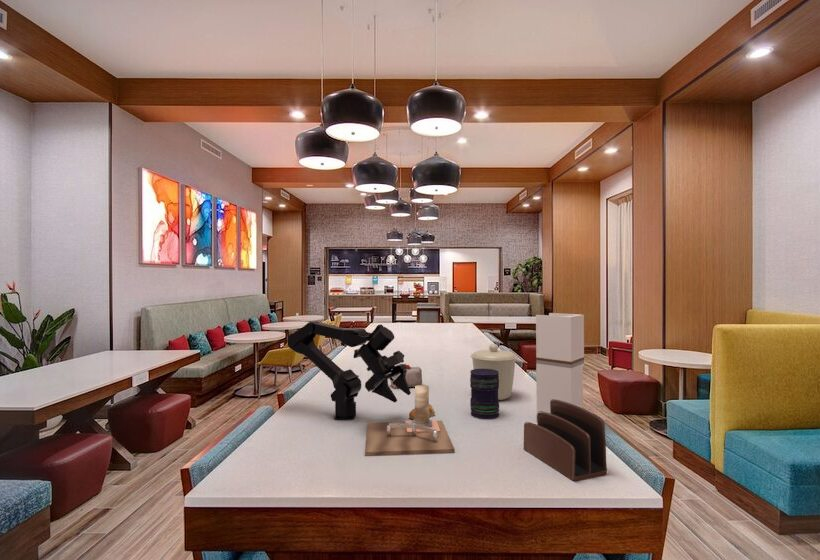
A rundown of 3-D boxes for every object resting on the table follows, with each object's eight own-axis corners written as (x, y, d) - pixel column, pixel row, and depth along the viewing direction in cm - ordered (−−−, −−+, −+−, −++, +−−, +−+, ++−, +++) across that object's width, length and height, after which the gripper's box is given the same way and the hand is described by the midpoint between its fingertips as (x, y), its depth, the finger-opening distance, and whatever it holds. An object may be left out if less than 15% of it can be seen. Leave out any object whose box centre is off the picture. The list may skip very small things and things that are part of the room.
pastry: (418, 422, 137) (418, 411, 137) (403, 418, 142) (403, 407, 142) (436, 415, 144) (436, 404, 144) (421, 411, 149) (421, 401, 149)
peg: (418, 430, 125) (418, 390, 125) (407, 424, 131) (407, 385, 131) (436, 426, 128) (436, 387, 128) (425, 420, 134) (424, 383, 134)
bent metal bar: (386, 436, 122) (386, 424, 122) (391, 432, 125) (390, 420, 125) (436, 442, 117) (436, 430, 117) (440, 438, 120) (439, 425, 120)
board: (365, 455, 111) (365, 452, 111) (367, 425, 134) (367, 422, 134) (454, 452, 113) (454, 449, 113) (441, 423, 136) (441, 420, 136)
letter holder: (552, 444, 118) (552, 395, 118) (607, 475, 99) (607, 416, 99) (522, 449, 115) (522, 398, 115) (573, 482, 96) (573, 421, 96)
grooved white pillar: (584, 421, 136) (583, 314, 137) (571, 430, 129) (570, 316, 129) (550, 414, 144) (550, 312, 144) (536, 422, 136) (536, 314, 137)
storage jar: (481, 421, 138) (481, 375, 138) (464, 413, 146) (464, 370, 146) (505, 416, 142) (505, 372, 142) (487, 408, 151) (487, 367, 151)
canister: (523, 395, 169) (523, 342, 169) (508, 406, 153) (507, 349, 153) (481, 389, 178) (481, 339, 178) (463, 399, 163) (463, 345, 163)
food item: (391, 390, 178) (391, 366, 178) (389, 385, 186) (389, 363, 186) (423, 388, 180) (423, 365, 180) (419, 383, 188) (419, 361, 188)
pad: (407, 433, 124) (407, 431, 124) (405, 422, 134) (405, 420, 134) (440, 432, 125) (440, 430, 125) (436, 421, 135) (436, 419, 135)
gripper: (373, 348, 127) (405, 389, 122) (402, 340, 143) (431, 375, 138) (351, 371, 130) (382, 411, 125) (382, 360, 147) (410, 396, 142)
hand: (403, 397), depth 133 cm, fingers open, 9 cm apart
